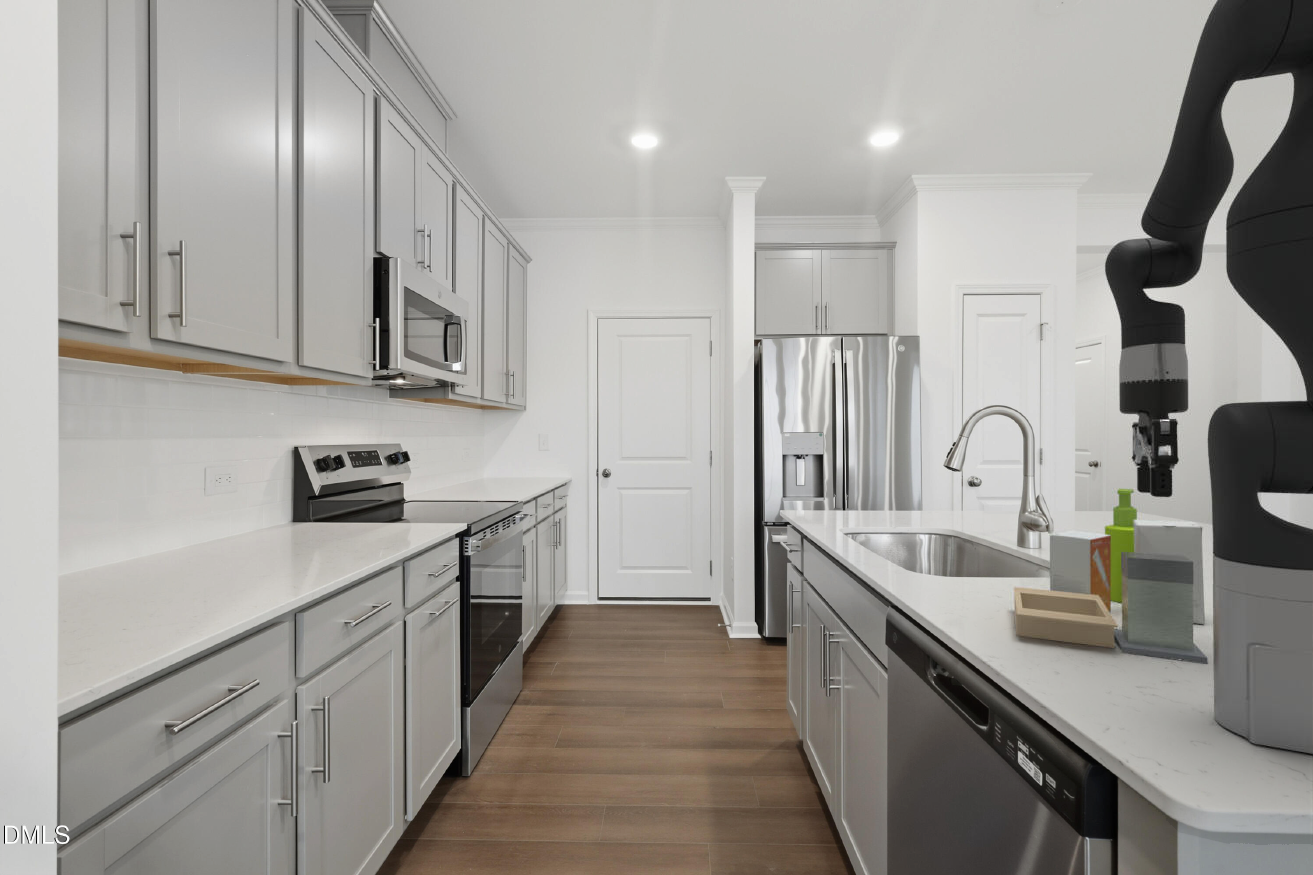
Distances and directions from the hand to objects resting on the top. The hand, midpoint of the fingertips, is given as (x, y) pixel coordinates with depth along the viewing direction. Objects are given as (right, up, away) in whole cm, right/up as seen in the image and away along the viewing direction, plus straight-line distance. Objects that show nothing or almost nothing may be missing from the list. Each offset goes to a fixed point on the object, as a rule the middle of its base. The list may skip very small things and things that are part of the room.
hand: (1153, 494), depth 86 cm
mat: (0, -22, 0) cm, 22 cm away
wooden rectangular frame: (-8, -22, +8) cm, 24 cm away
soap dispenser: (+15, -22, +25) cm, 36 cm away
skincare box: (+14, -22, +14) cm, 29 cm away
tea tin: (0, -21, 0) cm, 21 cm away
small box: (+2, -22, +18) cm, 28 cm away
